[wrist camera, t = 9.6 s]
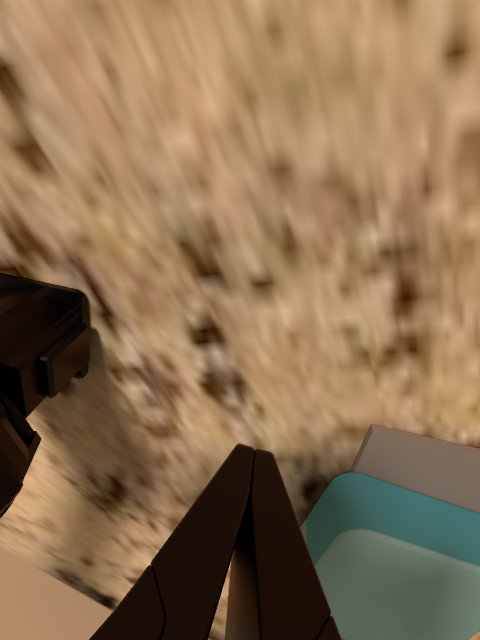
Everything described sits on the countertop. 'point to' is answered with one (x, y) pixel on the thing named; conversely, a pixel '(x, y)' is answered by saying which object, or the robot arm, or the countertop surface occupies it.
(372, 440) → the mat
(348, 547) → the data package
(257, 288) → the countertop surface
